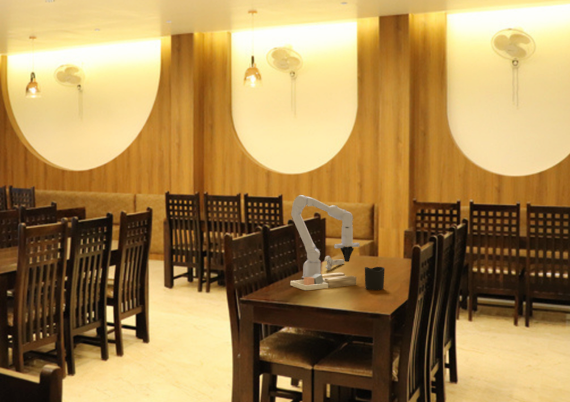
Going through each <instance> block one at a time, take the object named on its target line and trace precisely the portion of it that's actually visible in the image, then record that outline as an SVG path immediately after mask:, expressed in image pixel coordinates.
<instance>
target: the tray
mask: <svg viewBox="0 0 570 402" xmlns="http://www.w3.org/2000/svg"><path fill="white" fill-rule="evenodd" d="M290 286H291V287H293V288H297V289H300V290H303V291H312V290H313V291H314V290H320V289H323V290H324V289H328V283H326V282H321V283H319V284H314V285H304V279H298V280H290Z"/></svg>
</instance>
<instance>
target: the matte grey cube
mask: <svg viewBox="0 0 570 402" xmlns="http://www.w3.org/2000/svg"><path fill="white" fill-rule="evenodd" d="M311 277H313V278H314V284H319V283H321V282H323V278H322V275H321V273H320V274H315V275H313V276H311Z"/></svg>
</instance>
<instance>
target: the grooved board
mask: <svg viewBox="0 0 570 402" xmlns="http://www.w3.org/2000/svg"><path fill="white" fill-rule="evenodd" d="M320 274H321V273H320ZM321 275H322V278H323V282H326V283H328V288H329V289H330V288H331V289H332V288H340V287H347V286H348V287H349V286H357V276H354V275H346V274H345V273H344V272H333V273H325V274H324V273H323V274H321ZM328 288H327V289H328Z"/></svg>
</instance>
